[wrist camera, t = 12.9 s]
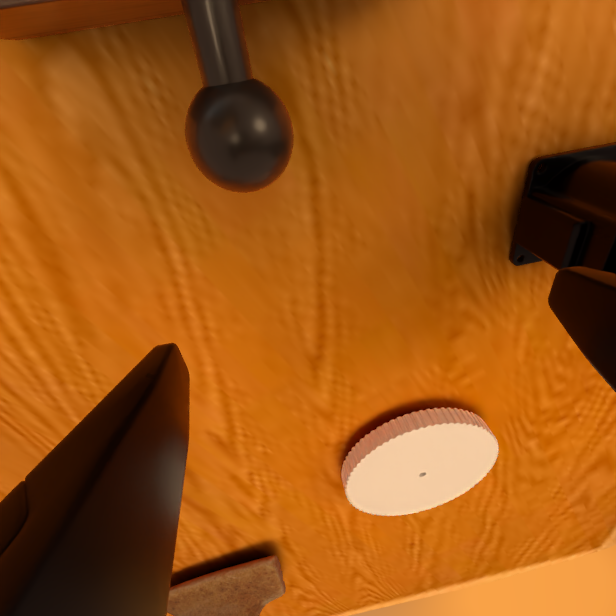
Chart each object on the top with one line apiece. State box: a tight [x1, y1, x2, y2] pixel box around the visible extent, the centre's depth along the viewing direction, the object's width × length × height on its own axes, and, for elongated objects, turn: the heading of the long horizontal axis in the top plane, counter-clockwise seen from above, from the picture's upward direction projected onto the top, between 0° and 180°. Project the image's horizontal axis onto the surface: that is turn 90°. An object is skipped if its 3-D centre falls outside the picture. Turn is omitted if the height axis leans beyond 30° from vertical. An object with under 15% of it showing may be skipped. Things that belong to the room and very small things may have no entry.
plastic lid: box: [341, 407, 499, 516], centre depth 33 cm, size 14×14×2 cm
